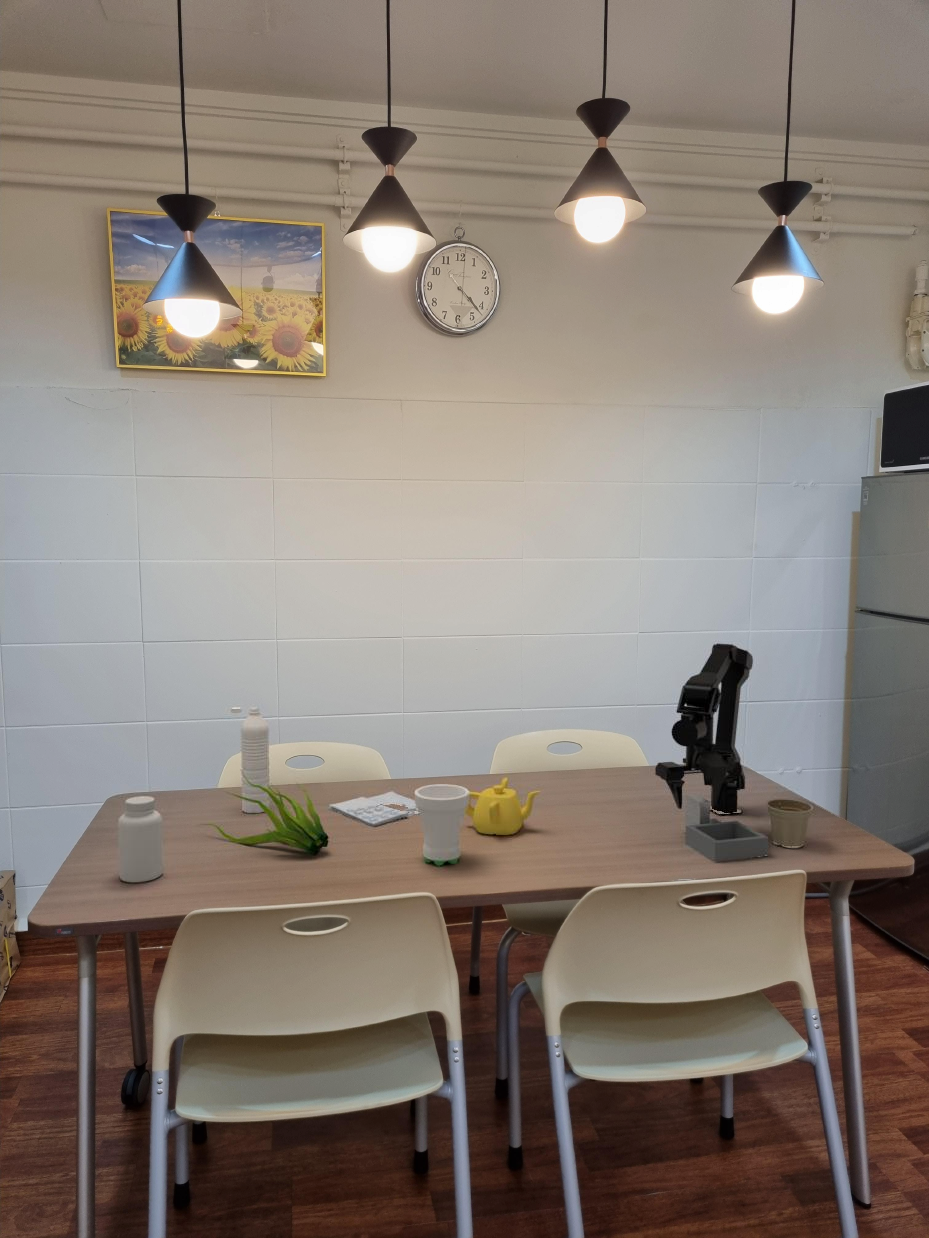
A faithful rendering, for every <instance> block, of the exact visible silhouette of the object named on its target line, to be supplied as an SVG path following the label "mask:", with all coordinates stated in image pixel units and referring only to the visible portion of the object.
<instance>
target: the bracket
mask: <svg viewBox="0 0 929 1238" xmlns="http://www.w3.org/2000/svg"><path fill="white" fill-rule="evenodd" d="M710 805H711V800H708V799H706V798H704V797H702V796H700V795H698V794H686V795H685V825H684V826H685V828H686V826H688V825H698V824H709V823H720V822H721V820H718V819H716V818H715V817H714V818H710V817H711V811H710ZM685 828H684V829H685Z"/></svg>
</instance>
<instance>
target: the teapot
mask: <svg viewBox="0 0 929 1238" xmlns="http://www.w3.org/2000/svg"><path fill="white" fill-rule="evenodd" d="M468 791H469V793H470V794H469V805H468V807H467V808H466V811H465V814H466V815H468V817H470V818H471V819H472V823H473V826H474V828H475V829H476V831H477V832H478V833H480V834H485V835H493V834H496V835H495V836H510V834H511V835H514V834H516V833H517V832H519V830H520V829H521V827H522V826H523V824H524V821H525V820H526V819H528V818H529V816H530V815H531V813H532V809H533V802H534V798H535V796H536V795H538V794H539V793H540V792H541V790H535V791H531V792H529V793H528V795H527V798H526V803H525V806H523V807H522V804H521V801H520V798H519V796H518V794H517V791H516V790H515V789H512V788H508V777H504V778H502V780H501V784H495V785H493V786H492V787H489V788H484V789H483V790H482V791H481V792H478V791H470V790H468ZM472 799H477V801H476V803H475V806H474V807H473V806H471V803H472Z"/></svg>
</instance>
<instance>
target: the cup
mask: <svg viewBox="0 0 929 1238" xmlns="http://www.w3.org/2000/svg"><path fill="white" fill-rule="evenodd" d="M469 791H470V790H469V789H467V788H466V787H464V786H461V785H456V784H446V783H445V784H443V783H440V784H439V783H437V784H427V785H423V786H421V787H419V788H417V789H415V791H414V800H415V805H416V806H417V808H418V810H419V813H420V814H419V815H420V819H421V822H422V828H423V837H424V838H423V839H424V843H423V846H422V851H423V852H422V853H423V854H422V855H423V859H424V862H425V863H432V862H434V864H435V866H438V867H440V865H441V866H442V865H444V863H446V862H447V863H449V864H451V865H455V864H456V863H457V862H458V860H459V859H460V856H461V853H462V850H461V849H462V847H461V846H462V845H461V843H460V837H461V836H460V834H461V829H462V828H461V827H462V823H463V820H464V816H465V814H466V813H465V811H466V808H467V807H468V805H469V794H470V793H469Z"/></svg>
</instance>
